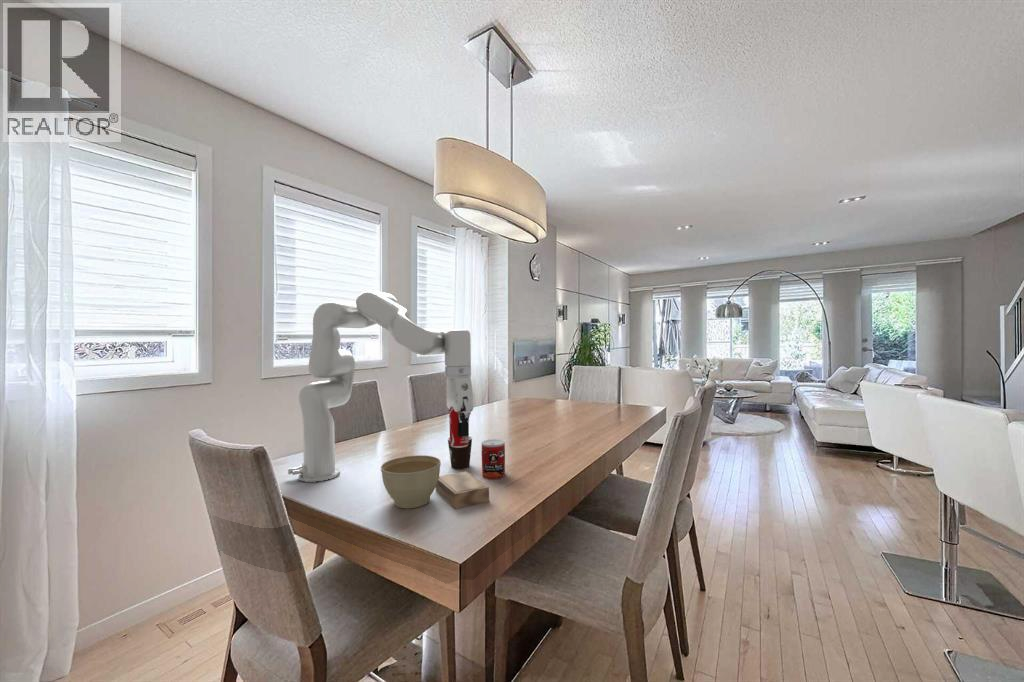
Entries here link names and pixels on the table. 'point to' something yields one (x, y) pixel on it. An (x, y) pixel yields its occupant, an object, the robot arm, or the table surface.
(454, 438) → the soda can
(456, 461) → the coffee mug
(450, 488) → the wooden tray
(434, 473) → the planter bowl
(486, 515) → the table surface
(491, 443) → the canned food
